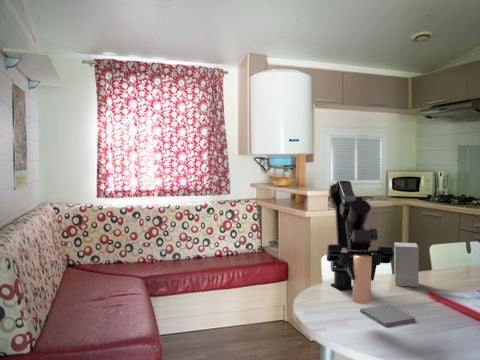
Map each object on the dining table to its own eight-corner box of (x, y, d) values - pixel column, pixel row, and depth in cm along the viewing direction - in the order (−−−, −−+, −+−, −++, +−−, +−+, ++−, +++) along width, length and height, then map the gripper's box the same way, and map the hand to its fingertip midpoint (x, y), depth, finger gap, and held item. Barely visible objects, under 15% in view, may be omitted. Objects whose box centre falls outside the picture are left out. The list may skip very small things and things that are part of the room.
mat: (360, 311, 116) (360, 308, 115) (388, 307, 119) (388, 304, 119) (384, 326, 105) (384, 323, 105) (415, 321, 109) (415, 318, 109)
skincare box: (416, 282, 144) (417, 242, 143) (418, 288, 137) (419, 246, 137) (393, 280, 147) (394, 241, 146) (394, 286, 140) (395, 244, 139)
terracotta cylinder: (348, 298, 108) (349, 254, 107) (363, 296, 110) (364, 253, 109) (359, 305, 103) (360, 259, 103) (374, 303, 105) (375, 257, 104)
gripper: (328, 217, 110) (332, 264, 100) (393, 219, 108) (404, 267, 98) (324, 238, 118) (328, 283, 108) (385, 240, 116) (394, 286, 106)
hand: (363, 279), depth 105 cm, fingers closed on terracotta cylinder, 5 cm apart
